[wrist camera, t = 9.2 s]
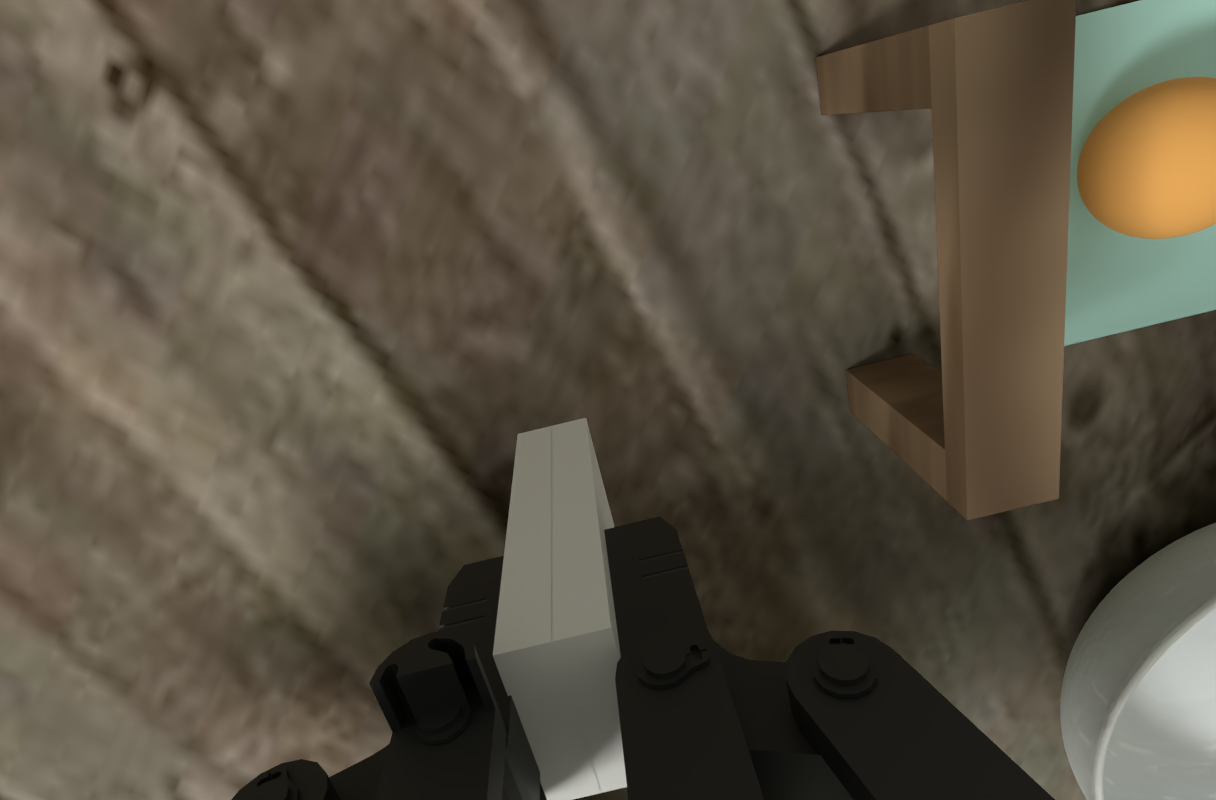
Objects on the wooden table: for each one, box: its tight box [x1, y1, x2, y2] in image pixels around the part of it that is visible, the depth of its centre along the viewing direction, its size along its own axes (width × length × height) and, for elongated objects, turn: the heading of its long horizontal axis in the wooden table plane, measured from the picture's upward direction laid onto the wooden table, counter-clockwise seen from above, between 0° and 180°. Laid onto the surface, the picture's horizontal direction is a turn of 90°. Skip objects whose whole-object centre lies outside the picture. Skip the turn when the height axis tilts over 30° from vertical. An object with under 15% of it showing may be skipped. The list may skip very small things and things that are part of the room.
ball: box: [1077, 77, 1216, 239], centre depth 24 cm, size 6×6×6 cm
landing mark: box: [1064, 0, 1216, 346], centre depth 27 cm, size 13×13×1 cm
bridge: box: [816, 0, 1076, 520], centre depth 23 cm, size 3×14×9 cm, turn 13°
